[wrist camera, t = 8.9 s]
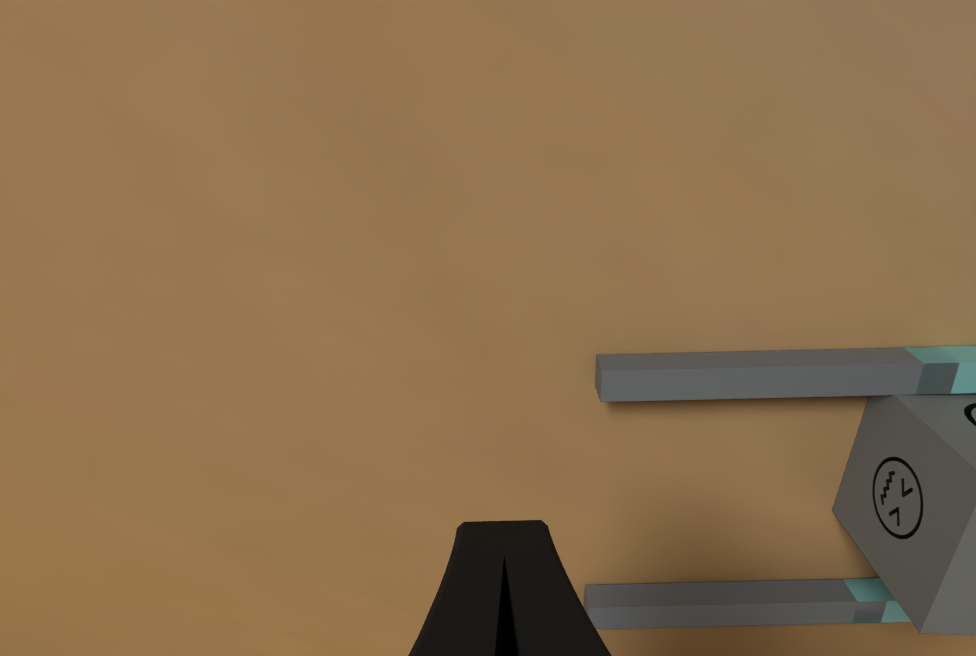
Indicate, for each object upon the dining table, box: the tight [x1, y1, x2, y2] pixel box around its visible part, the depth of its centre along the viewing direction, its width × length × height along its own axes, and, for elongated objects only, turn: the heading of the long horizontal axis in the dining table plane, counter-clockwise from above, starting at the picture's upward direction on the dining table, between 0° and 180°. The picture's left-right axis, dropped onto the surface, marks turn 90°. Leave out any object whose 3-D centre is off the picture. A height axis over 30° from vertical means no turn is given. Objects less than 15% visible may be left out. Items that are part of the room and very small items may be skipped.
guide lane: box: [584, 346, 976, 629], centre depth 21 cm, size 10×16×2 cm, turn 91°
